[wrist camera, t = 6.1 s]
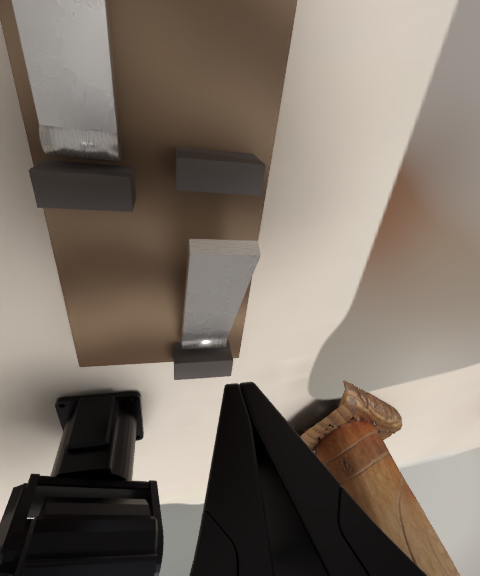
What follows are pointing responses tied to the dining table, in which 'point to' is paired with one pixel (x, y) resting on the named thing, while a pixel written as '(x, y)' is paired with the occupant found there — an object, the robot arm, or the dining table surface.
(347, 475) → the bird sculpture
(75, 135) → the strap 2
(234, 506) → the robot arm
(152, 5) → the walnut board
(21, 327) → the dining table surface
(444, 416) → the dining table surface
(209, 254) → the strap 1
